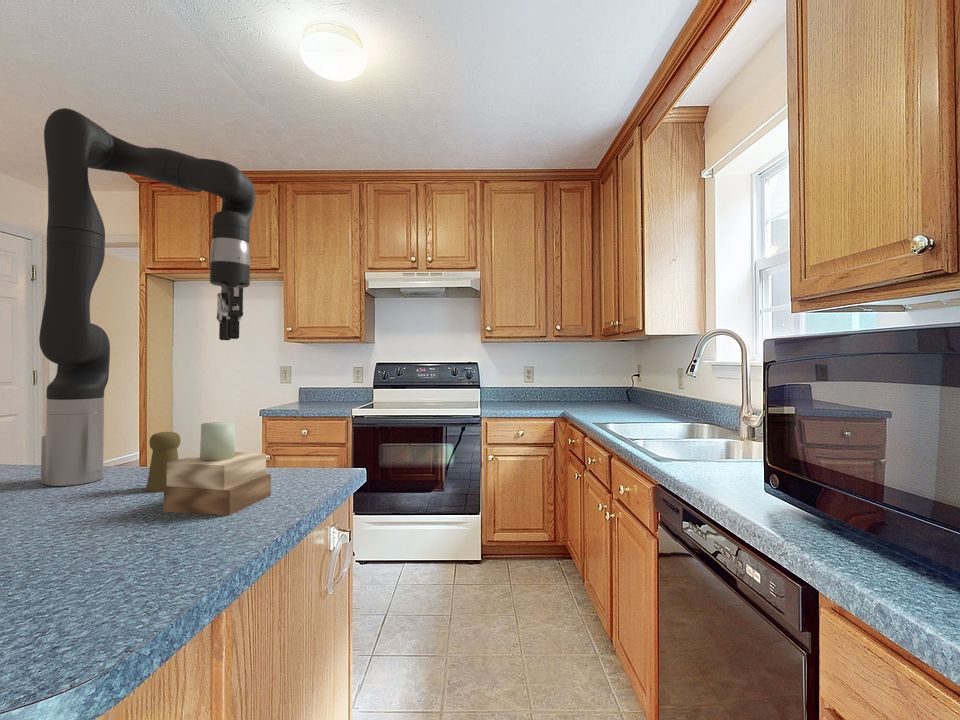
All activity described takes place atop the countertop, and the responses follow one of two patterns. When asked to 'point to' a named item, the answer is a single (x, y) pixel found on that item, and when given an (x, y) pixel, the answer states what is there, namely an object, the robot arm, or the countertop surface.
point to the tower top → (215, 471)
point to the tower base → (216, 498)
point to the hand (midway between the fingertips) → (228, 339)
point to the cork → (161, 459)
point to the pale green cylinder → (217, 441)
